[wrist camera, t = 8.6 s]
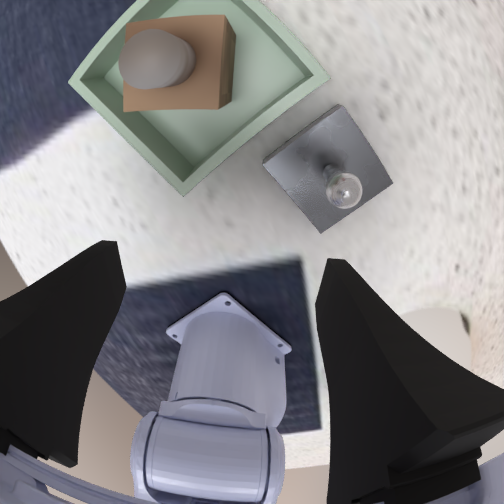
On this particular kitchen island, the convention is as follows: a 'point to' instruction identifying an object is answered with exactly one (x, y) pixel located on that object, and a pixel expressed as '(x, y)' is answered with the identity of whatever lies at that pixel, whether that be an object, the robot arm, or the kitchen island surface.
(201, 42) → the brown square bottle
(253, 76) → the bin
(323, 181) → the stud plate
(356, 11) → the kitchen island surface
